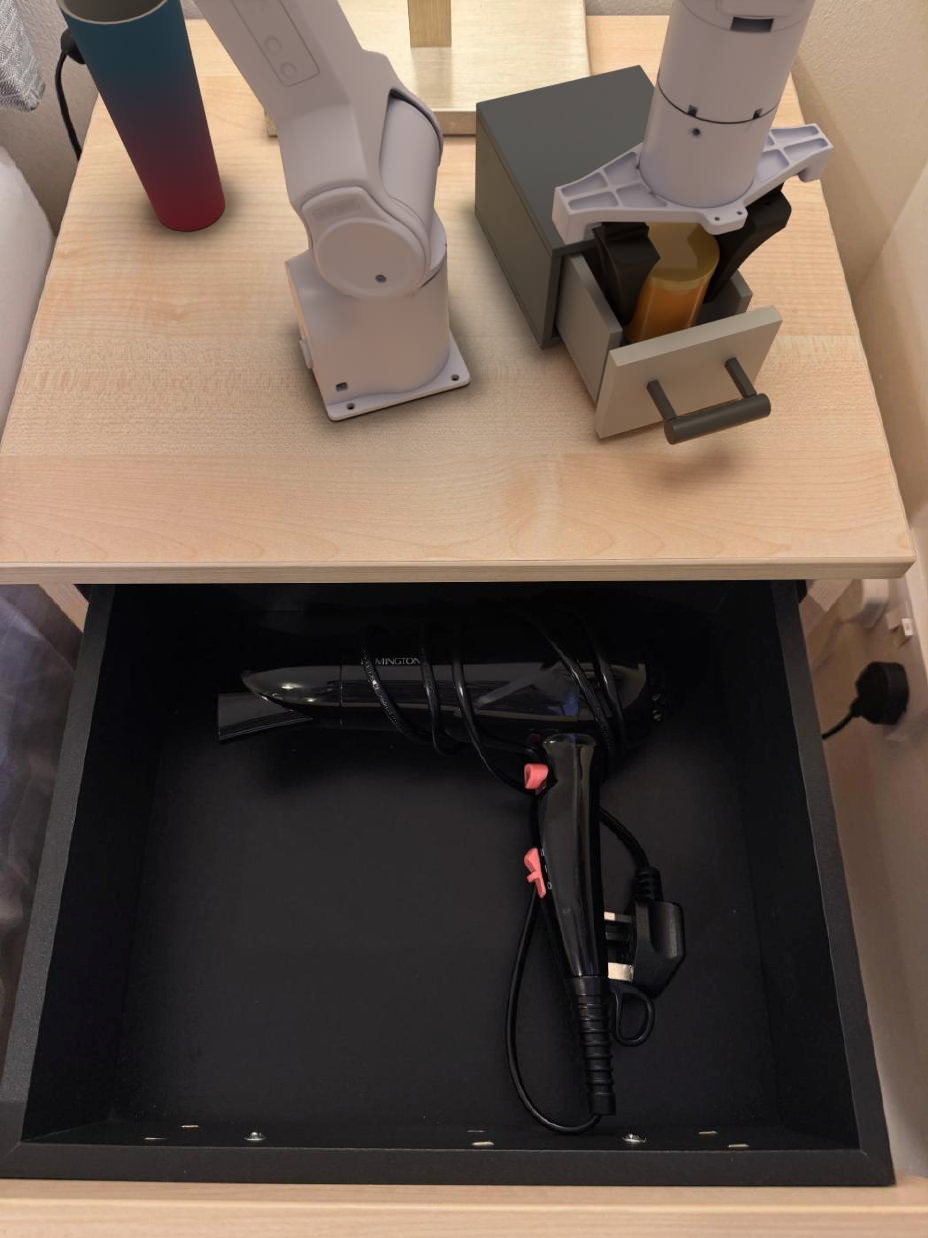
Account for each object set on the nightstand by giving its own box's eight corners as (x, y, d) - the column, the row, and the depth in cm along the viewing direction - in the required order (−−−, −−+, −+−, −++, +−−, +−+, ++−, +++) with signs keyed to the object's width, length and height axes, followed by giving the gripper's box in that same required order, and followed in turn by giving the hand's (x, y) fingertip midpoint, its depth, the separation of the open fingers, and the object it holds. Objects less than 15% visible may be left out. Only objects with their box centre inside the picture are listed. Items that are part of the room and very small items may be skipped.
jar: (601, 300, 54) (615, 227, 49) (675, 280, 55) (696, 206, 50) (633, 360, 52) (651, 291, 47) (709, 339, 53) (735, 269, 48)
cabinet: (697, 306, 60) (731, 202, 52) (541, 349, 58) (552, 249, 51) (619, 175, 65) (640, 63, 57) (474, 211, 64) (475, 101, 56)
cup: (220, 246, 62) (151, 30, 48) (129, 232, 63) (35, 15, 49) (249, 180, 65) (191, -43, 51) (161, 167, 65) (81, -57, 52)
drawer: (779, 447, 54) (819, 375, 48) (627, 493, 53) (648, 425, 47) (667, 258, 61) (690, 173, 54) (529, 294, 59) (536, 212, 53)
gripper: (607, 176, 37) (571, 384, 50) (905, 102, 39) (799, 320, 52) (547, 73, 40) (527, 295, 53) (829, 9, 42) (745, 237, 55)
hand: (659, 302), depth 52 cm, fingers closed on jar, 5 cm apart
